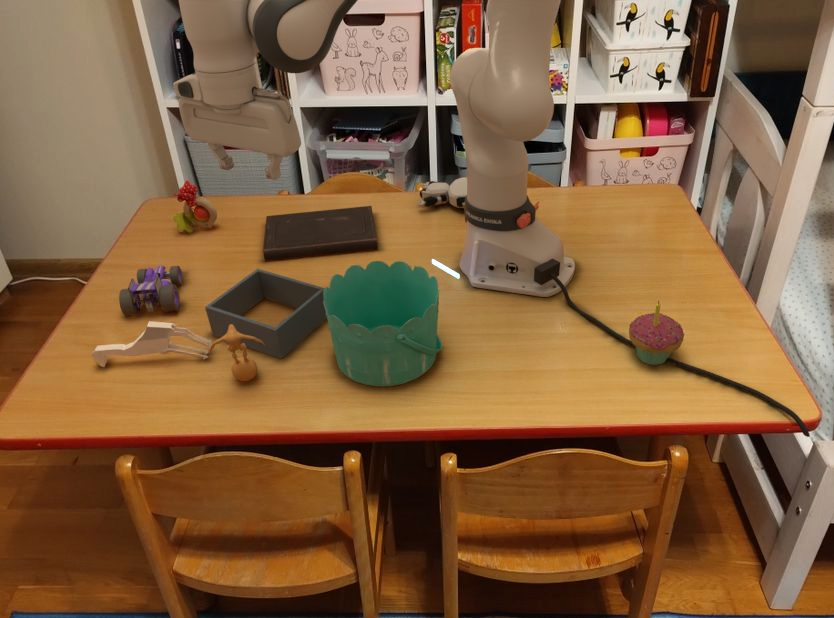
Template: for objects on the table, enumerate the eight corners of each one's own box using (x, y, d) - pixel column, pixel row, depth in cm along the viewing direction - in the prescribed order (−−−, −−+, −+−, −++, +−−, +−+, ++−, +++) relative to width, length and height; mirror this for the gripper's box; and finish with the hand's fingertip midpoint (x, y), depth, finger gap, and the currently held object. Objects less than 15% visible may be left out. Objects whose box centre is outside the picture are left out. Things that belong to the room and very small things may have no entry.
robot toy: (417, 217, 160) (484, 215, 157) (414, 199, 157) (482, 196, 154) (425, 193, 169) (488, 190, 167) (422, 175, 166) (487, 172, 164)
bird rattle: (216, 229, 162) (176, 215, 160) (226, 187, 155) (184, 172, 153) (208, 243, 157) (167, 228, 155) (217, 200, 150) (174, 185, 148)
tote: (330, 316, 129) (325, 288, 126) (281, 359, 120) (275, 330, 116) (263, 295, 136) (257, 268, 132) (212, 335, 126) (204, 307, 122)
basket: (335, 324, 127) (326, 262, 119) (438, 318, 128) (435, 255, 120) (329, 396, 112) (318, 329, 104) (446, 388, 113) (444, 321, 105)
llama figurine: (202, 381, 126) (93, 358, 121) (214, 332, 119) (99, 305, 114) (200, 388, 124) (90, 365, 119) (212, 338, 118) (96, 311, 113)
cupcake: (669, 378, 112) (682, 316, 105) (617, 361, 116) (626, 300, 109) (685, 349, 118) (699, 287, 111) (635, 334, 122) (645, 273, 114)
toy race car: (190, 272, 143) (182, 244, 139) (177, 315, 131) (168, 285, 127) (141, 277, 142) (131, 248, 138) (124, 320, 131) (113, 290, 127)
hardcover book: (268, 225, 158) (266, 215, 156) (372, 214, 160) (371, 205, 158) (264, 262, 145) (262, 252, 144) (378, 250, 147) (377, 240, 146)
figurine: (272, 367, 118) (259, 307, 111) (272, 390, 114) (258, 329, 106) (221, 374, 117) (204, 314, 110) (219, 398, 113) (201, 337, 105)
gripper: (300, 85, 102) (315, 175, 111) (193, 70, 110) (215, 156, 119) (273, 99, 98) (291, 192, 107) (164, 83, 106) (188, 171, 115)
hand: (250, 173), depth 113 cm, fingers open, 8 cm apart
